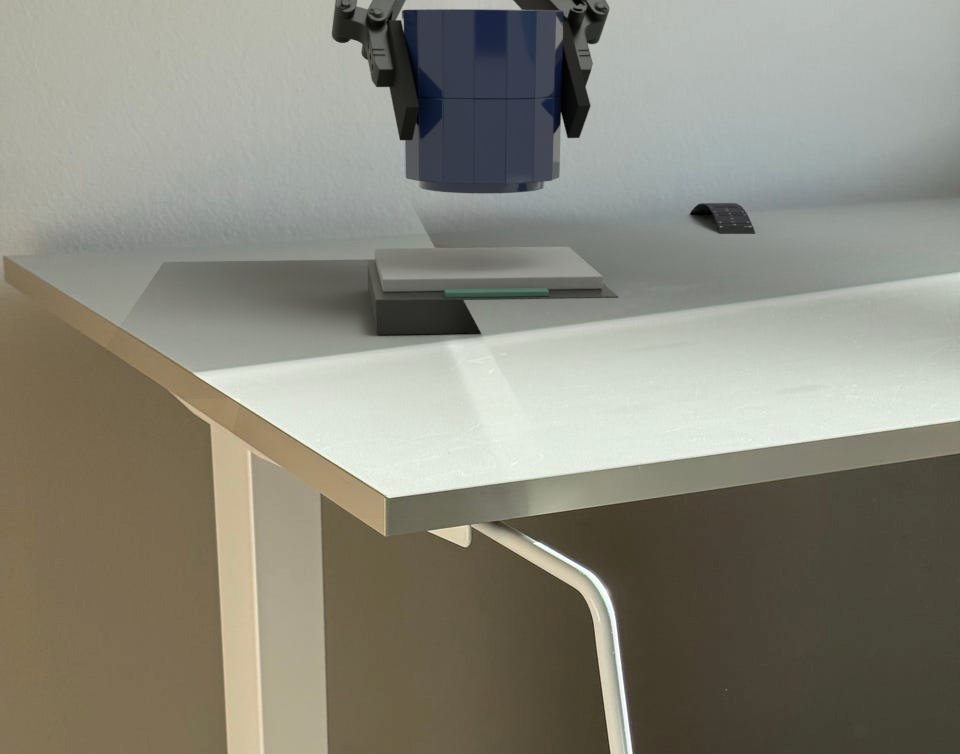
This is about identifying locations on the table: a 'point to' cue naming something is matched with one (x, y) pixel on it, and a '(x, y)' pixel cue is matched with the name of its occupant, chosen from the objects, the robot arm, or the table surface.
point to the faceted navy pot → (485, 99)
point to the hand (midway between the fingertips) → (495, 123)
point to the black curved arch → (727, 217)
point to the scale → (469, 284)
